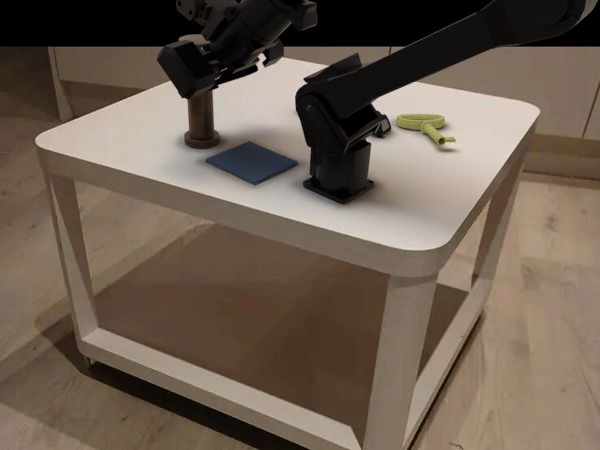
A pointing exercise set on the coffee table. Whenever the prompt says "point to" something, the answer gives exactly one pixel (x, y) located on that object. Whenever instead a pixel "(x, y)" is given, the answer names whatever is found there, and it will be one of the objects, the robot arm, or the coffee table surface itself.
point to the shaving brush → (200, 111)
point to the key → (425, 125)
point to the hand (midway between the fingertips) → (192, 90)
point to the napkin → (251, 162)
